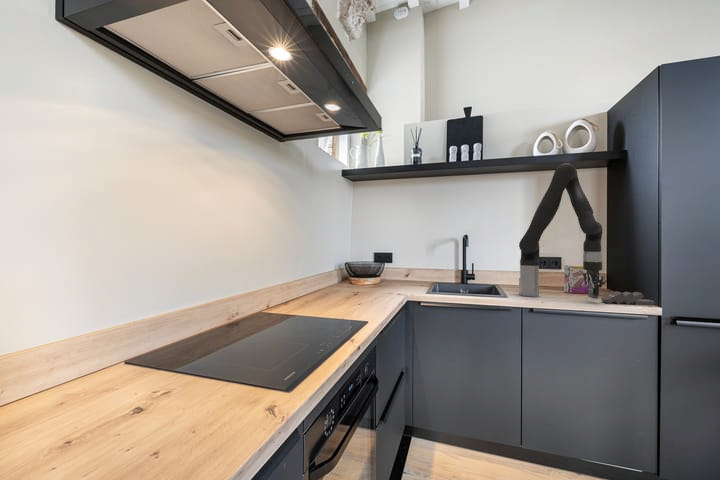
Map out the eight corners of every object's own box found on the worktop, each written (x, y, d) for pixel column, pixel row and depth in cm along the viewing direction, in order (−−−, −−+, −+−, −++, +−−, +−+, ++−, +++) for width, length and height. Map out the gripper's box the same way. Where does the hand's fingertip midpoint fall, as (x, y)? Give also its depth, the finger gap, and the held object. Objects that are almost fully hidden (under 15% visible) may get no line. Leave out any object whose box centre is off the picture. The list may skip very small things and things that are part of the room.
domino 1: (593, 298, 144) (592, 282, 145) (588, 296, 149) (588, 281, 149) (597, 298, 144) (597, 282, 144) (592, 296, 148) (592, 281, 148)
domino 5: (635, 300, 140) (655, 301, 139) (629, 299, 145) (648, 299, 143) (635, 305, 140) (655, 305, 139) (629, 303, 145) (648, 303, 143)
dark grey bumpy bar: (615, 300, 142) (632, 292, 141) (609, 298, 147) (625, 291, 145) (617, 304, 142) (634, 296, 141) (612, 302, 146) (627, 295, 145)
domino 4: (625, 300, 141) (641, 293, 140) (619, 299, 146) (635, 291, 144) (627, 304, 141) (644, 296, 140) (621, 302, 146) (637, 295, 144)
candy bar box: (568, 293, 172) (568, 265, 172) (563, 292, 177) (563, 265, 177) (589, 293, 171) (588, 265, 171) (583, 292, 176) (583, 265, 176)
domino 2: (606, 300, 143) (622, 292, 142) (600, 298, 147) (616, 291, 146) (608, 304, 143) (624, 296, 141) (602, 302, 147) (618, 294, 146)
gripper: (576, 259, 154) (577, 292, 154) (591, 261, 141) (592, 297, 140) (593, 260, 153) (594, 292, 152) (609, 261, 139) (610, 297, 139)
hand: (593, 294), depth 146 cm, fingers closed on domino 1, 4 cm apart
